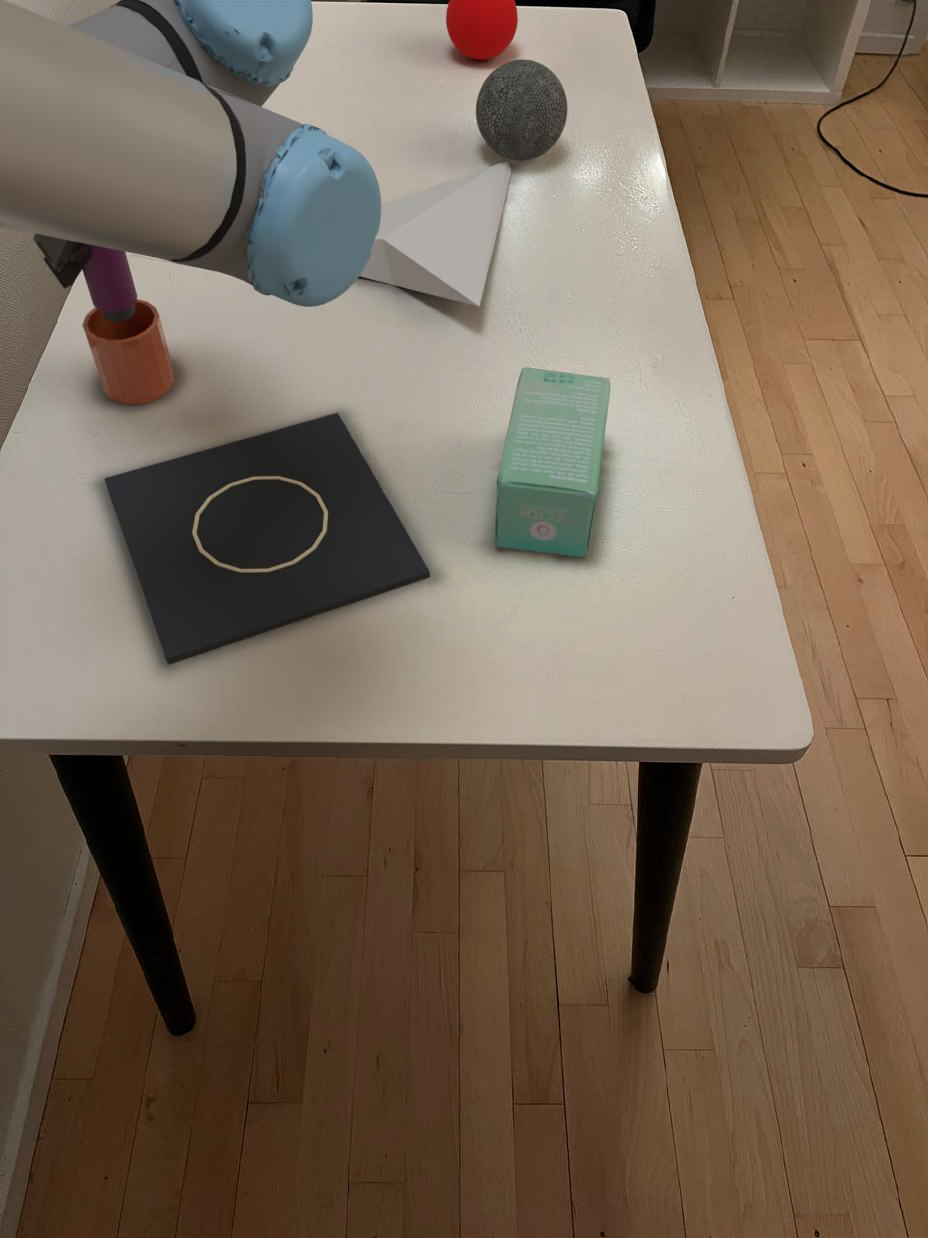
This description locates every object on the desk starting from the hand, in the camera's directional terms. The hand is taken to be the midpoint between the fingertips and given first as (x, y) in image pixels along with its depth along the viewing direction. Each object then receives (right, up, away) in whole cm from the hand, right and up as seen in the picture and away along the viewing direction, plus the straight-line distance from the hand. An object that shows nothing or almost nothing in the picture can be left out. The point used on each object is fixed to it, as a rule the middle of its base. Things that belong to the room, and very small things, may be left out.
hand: (79, 260), depth 87 cm
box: (+39, -20, -2) cm, 43 cm away
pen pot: (+3, -9, +7) cm, 11 cm away
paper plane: (+24, +9, +21) cm, 33 cm away
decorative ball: (+38, +23, +33) cm, 55 cm away
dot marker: (+3, -4, +1) cm, 5 cm away
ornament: (+34, +42, +48) cm, 73 cm away
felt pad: (+16, -22, -5) cm, 28 cm away
